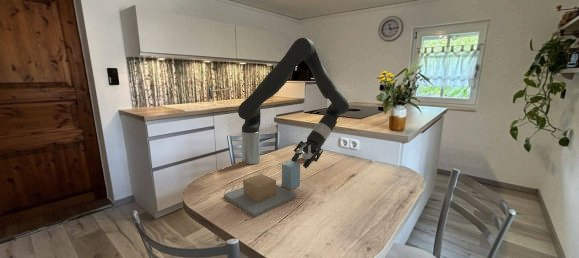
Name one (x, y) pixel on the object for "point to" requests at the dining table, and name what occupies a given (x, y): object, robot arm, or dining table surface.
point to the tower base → (259, 205)
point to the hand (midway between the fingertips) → (298, 164)
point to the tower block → (290, 175)
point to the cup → (305, 156)
